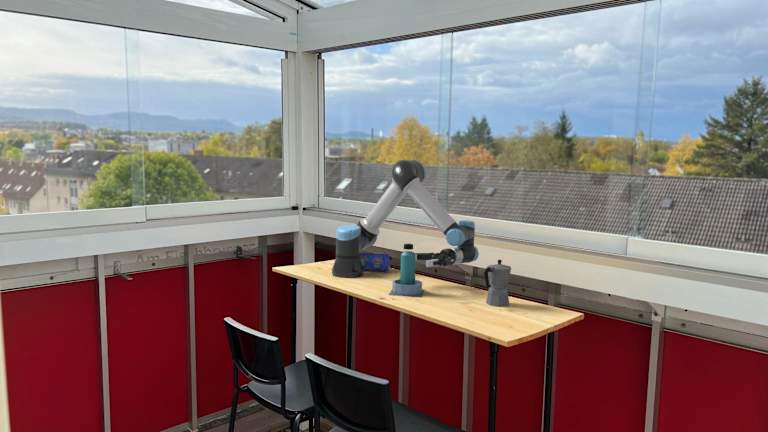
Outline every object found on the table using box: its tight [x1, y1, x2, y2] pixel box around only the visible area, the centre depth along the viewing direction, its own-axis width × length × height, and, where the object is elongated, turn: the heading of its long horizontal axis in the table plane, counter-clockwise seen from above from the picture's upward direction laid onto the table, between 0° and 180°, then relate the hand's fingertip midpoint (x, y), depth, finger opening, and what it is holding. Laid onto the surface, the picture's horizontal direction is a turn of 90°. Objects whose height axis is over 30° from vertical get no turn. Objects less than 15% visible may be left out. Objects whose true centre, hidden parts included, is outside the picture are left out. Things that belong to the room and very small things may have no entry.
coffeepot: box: [483, 259, 512, 308], centre depth 229 cm, size 15×9×18 cm, turn 129°
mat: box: [388, 288, 426, 298], centre depth 244 cm, size 14×14×1 cm
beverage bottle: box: [399, 243, 417, 285], centre depth 243 cm, size 6×7×20 cm
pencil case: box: [360, 252, 393, 273], centre depth 287 cm, size 22×9×10 cm, turn 82°
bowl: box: [391, 278, 423, 297], centre depth 244 cm, size 12×12×4 cm
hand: (415, 261), depth 245 cm, fingers open, 13 cm apart
